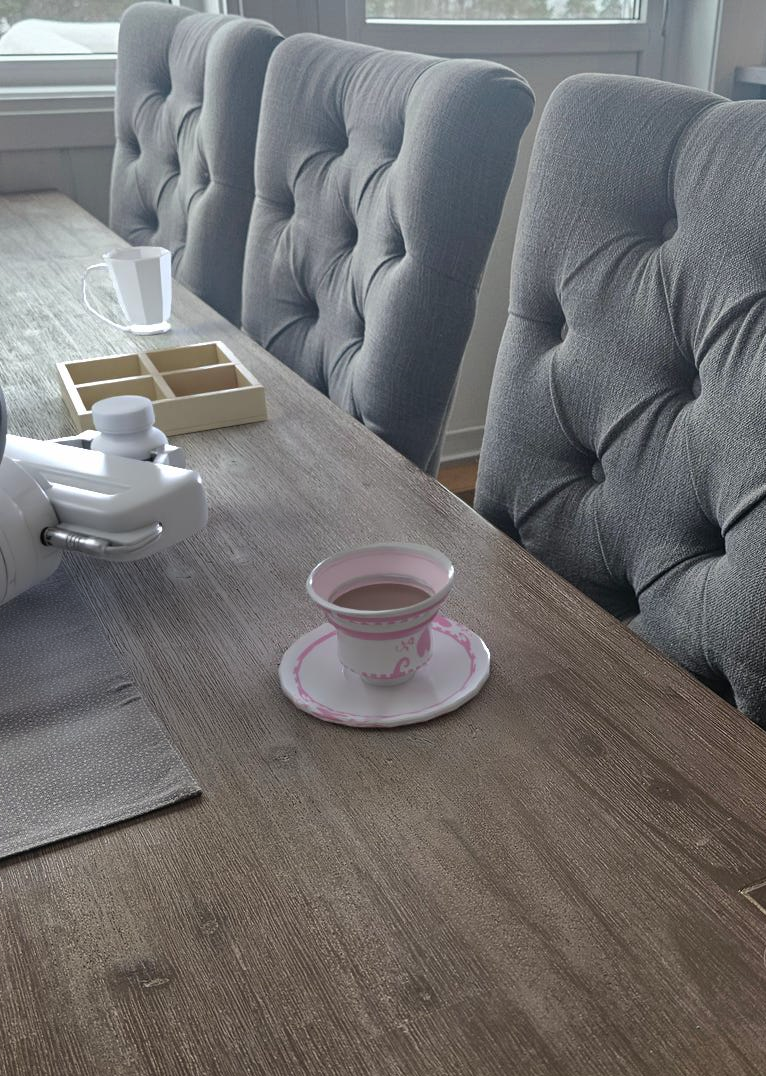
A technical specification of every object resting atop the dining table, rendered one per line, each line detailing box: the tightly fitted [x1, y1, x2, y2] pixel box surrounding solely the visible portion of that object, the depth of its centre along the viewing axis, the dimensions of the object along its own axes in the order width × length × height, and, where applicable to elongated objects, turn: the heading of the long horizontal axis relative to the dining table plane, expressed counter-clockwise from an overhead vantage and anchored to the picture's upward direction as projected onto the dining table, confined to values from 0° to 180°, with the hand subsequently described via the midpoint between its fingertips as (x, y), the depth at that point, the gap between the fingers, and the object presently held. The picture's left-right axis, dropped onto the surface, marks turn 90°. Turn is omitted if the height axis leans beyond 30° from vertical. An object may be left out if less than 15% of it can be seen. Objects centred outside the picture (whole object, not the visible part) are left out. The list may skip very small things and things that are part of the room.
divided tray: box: [54, 340, 269, 438], centre depth 101 cm, size 16×16×3 cm
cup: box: [80, 245, 173, 336], centre depth 121 cm, size 7×10×8 cm
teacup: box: [277, 541, 491, 728], centre depth 62 cm, size 12×12×6 cm
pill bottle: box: [91, 396, 169, 463], centre depth 78 cm, size 5×5×9 cm
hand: (138, 448), depth 79 cm, fingers closed on pill bottle, 5 cm apart
